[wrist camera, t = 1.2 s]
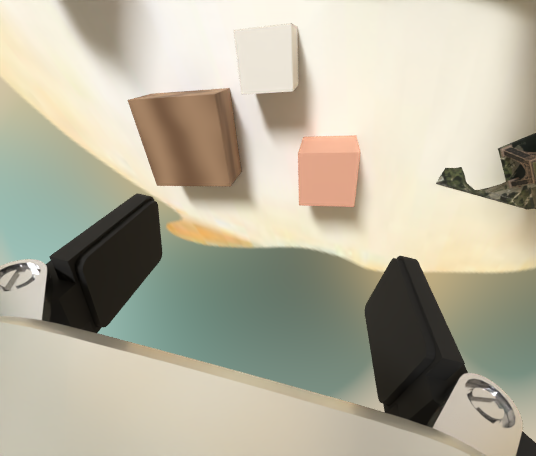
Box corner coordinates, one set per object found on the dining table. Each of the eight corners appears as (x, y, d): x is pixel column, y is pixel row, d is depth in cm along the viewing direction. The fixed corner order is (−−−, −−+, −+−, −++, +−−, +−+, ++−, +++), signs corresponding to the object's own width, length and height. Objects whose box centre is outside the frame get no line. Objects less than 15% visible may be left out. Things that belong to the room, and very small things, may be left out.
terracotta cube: (355, 135, 30) (360, 152, 25) (351, 183, 33) (354, 206, 28) (303, 136, 31) (298, 153, 26) (303, 183, 35) (299, 205, 30)
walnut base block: (230, 87, 30) (214, 94, 26) (242, 170, 36) (230, 186, 32) (153, 93, 32) (127, 100, 28) (175, 170, 38) (157, 185, 34)
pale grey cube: (297, 26, 26) (291, 23, 21) (298, 84, 28) (292, 91, 24) (248, 32, 27) (233, 30, 23) (253, 88, 29) (241, 94, 25)
